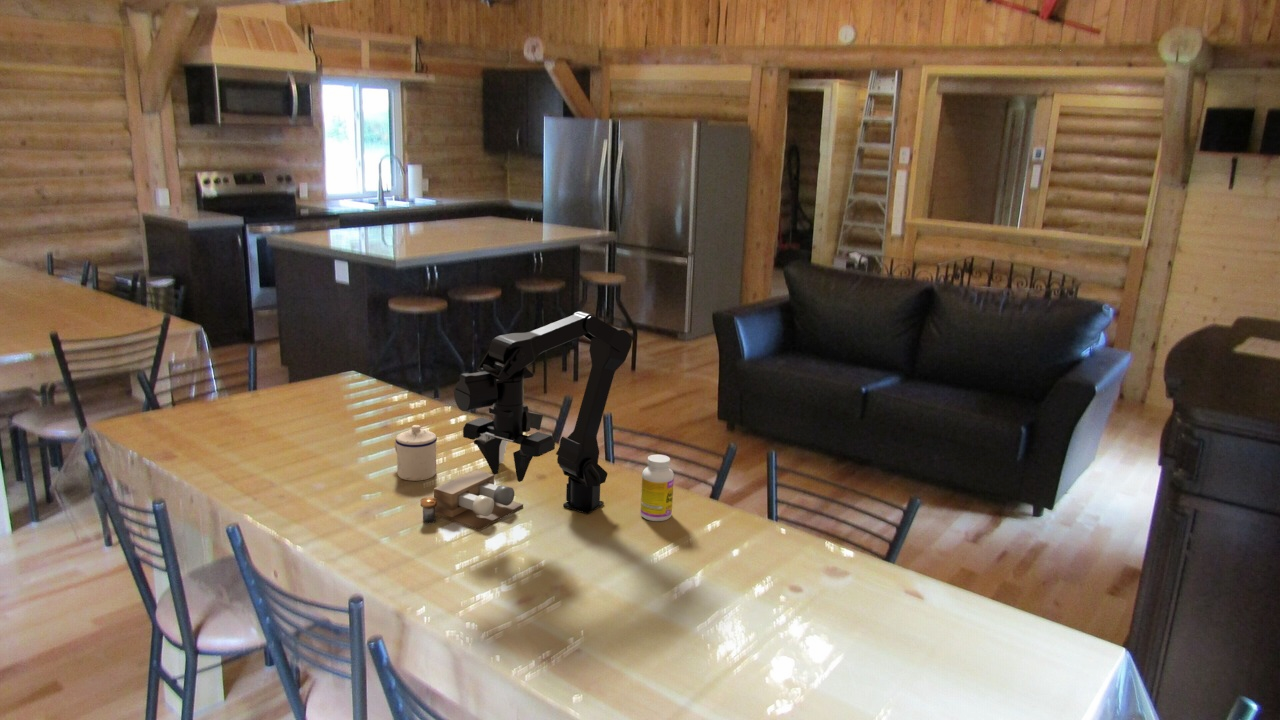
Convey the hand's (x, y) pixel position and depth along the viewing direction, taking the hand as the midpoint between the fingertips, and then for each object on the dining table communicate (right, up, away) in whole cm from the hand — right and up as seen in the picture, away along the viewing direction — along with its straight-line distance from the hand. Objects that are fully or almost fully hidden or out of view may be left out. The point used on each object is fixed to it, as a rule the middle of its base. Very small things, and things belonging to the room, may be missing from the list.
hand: (508, 477), depth 170 cm
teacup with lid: (-26, -3, +29) cm, 39 cm away
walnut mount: (-8, -8, +11) cm, 16 cm away
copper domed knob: (-17, -9, +5) cm, 20 cm away
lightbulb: (-8, -2, +37) cm, 37 cm away
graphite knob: (-5, -6, +12) cm, 15 cm away
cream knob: (-9, -8, +7) cm, 14 cm away
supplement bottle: (+29, -10, +12) cm, 33 cm away
